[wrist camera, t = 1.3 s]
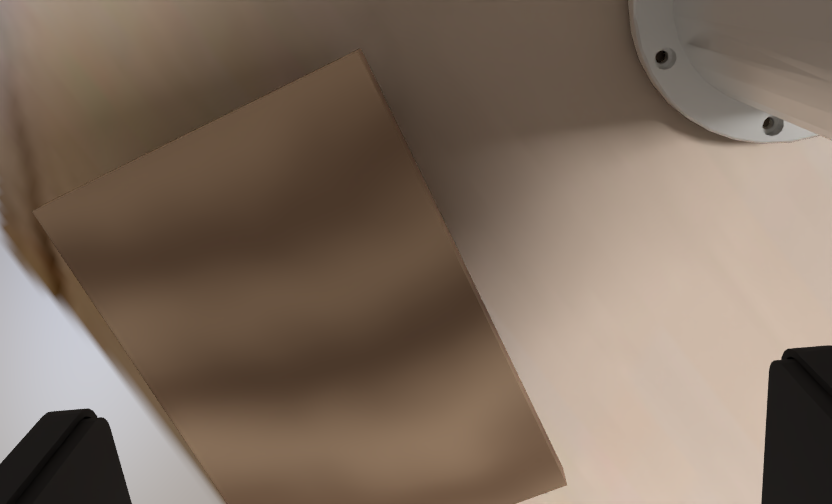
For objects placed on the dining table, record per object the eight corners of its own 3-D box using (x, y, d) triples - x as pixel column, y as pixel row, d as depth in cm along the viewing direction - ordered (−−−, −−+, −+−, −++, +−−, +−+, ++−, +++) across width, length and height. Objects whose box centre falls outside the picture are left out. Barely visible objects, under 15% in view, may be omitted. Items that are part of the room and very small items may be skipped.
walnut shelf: (98, 172, 34) (31, 211, 29) (372, 38, 32) (357, 51, 26) (304, 502, 40) (282, 587, 35) (548, 409, 38) (567, 485, 32)
